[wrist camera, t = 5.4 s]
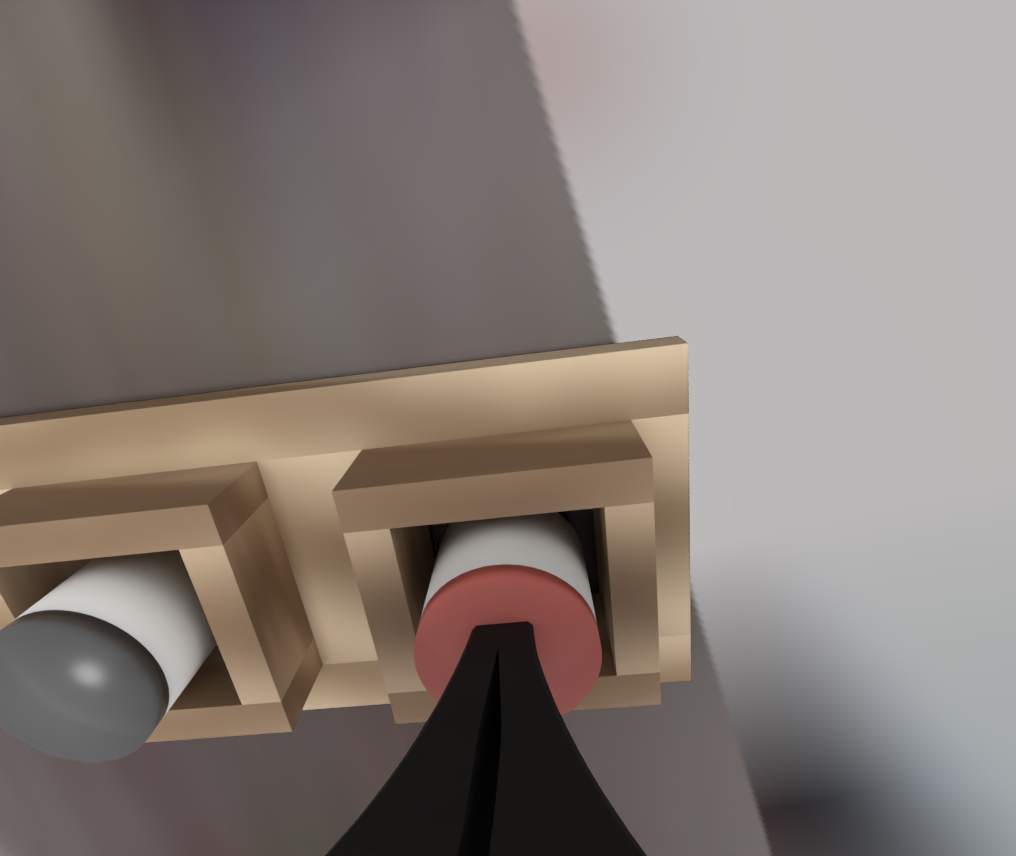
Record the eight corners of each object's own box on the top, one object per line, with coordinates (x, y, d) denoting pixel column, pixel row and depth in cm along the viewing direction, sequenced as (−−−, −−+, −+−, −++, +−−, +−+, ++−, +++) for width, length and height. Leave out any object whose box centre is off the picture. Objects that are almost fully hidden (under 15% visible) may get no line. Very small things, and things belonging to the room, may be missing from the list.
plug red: (589, 614, 16) (607, 720, 13) (450, 626, 17) (431, 733, 13) (577, 490, 15) (595, 571, 11) (425, 505, 15) (396, 590, 12)
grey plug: (250, 646, 17) (179, 756, 14) (123, 657, 17) (20, 768, 14) (206, 530, 16) (112, 619, 12) (67, 544, 16) (-64, 636, 12)
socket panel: (682, 658, 19) (717, 750, 16) (112, 703, 21) (31, 796, 17) (677, 336, 15) (723, 367, 12) (-35, 422, 16) (-179, 472, 13)
